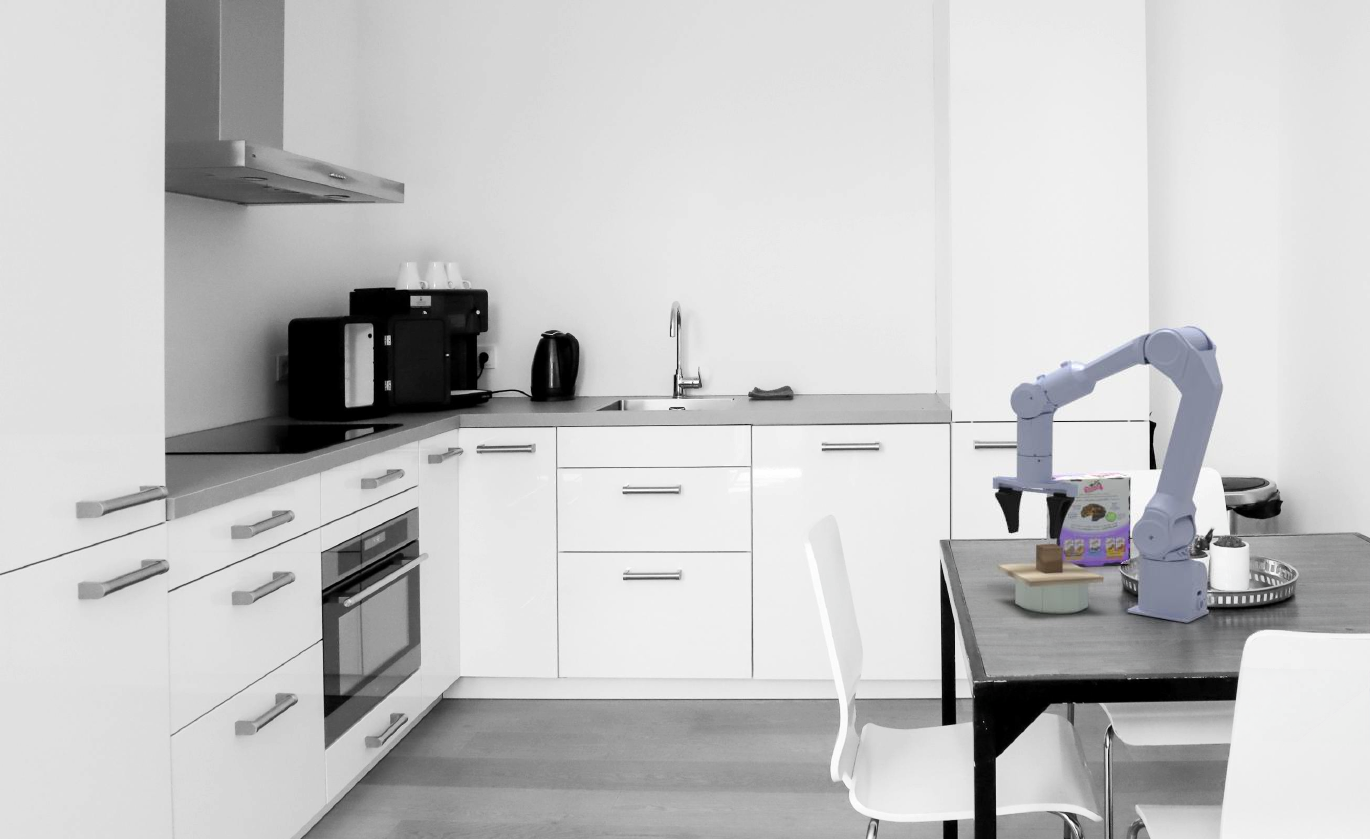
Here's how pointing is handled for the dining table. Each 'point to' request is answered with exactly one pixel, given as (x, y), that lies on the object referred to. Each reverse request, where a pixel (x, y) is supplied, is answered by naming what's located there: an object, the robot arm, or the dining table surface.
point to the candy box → (1096, 520)
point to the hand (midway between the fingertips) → (1033, 535)
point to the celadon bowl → (1052, 598)
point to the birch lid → (1049, 569)
